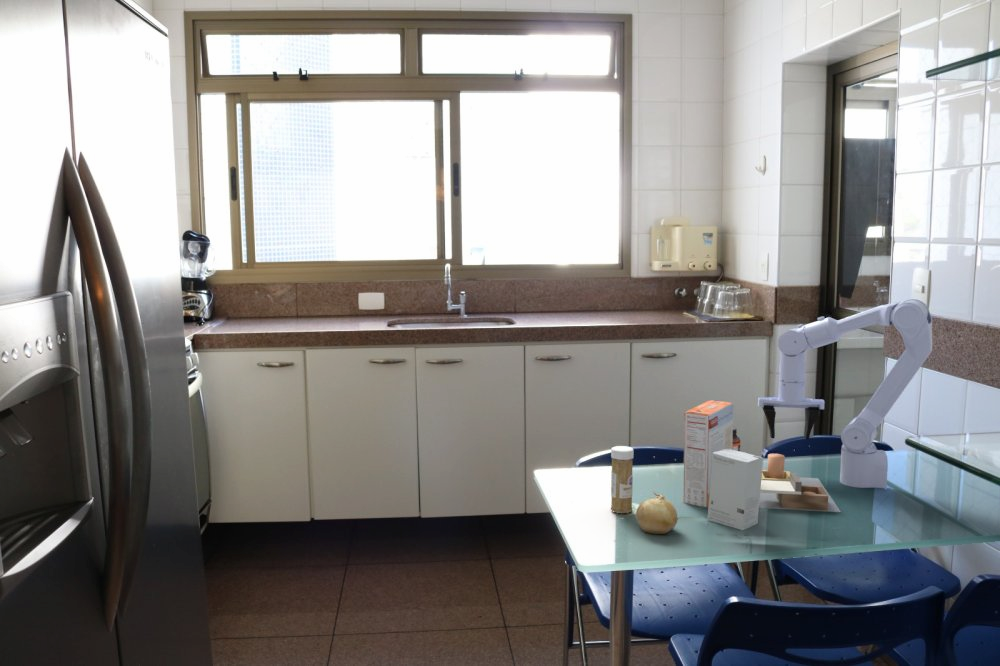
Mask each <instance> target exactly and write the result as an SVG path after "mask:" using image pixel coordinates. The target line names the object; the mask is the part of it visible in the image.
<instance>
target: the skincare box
mask: <svg viewBox="0 0 1000 666" xmlns="http://www.w3.org/2000/svg"><path fill="white" fill-rule="evenodd" d="M763 463H764V457H761V456H759V455H758V456H757V455H755V454H751V453H747V452H744V451H741V450H740V451H736V450H731V449H724V450H721V451H717V452H714V453H713V457H712V469H711V481H710V494H709V506H708V508H707V509H708V510H707V520H706V521H707V525H708V526H709V521H711V522H713V523H717V524H720V525H724V526H728V527H731V528H734V529H737V530H740V531H744V530H746V529H749V528H751V527H754V526H755V525H757V524H759V523H758V521H759V513H760V512H759V511H760V508H759V501H760V490H761V478H762V470H763V465H764V464H763Z"/></svg>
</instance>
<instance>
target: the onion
mask: <svg viewBox="0 0 1000 666" xmlns="http://www.w3.org/2000/svg"><path fill="white" fill-rule="evenodd" d="M653 494H654V495H655V497H653V498H652V497H651V498H648V499H645V500H644V501H642V502H641V503H640V504H639V505H638V507H637V508H636V512H635V517H636V521H637V523H638V525H639V527H640V528H641V530H642V531H643V532H644V533H647V532H648V533H647V534H652V535H665V534H668V533H669V532H670V531H672V530H673V529H674V528H675V527H676V525H677V524H678V512H677V510H676V508H675V506H674V505H673V504H672V503H671V501H669V500H668V499H667V498H665V496H664V495H663V494H661V493H659V494H657V493H656V492H655V491H653Z"/></svg>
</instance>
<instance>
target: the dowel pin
mask: <svg viewBox="0 0 1000 666" xmlns="http://www.w3.org/2000/svg"><path fill="white" fill-rule="evenodd" d="M785 460H786V459H785V455H784V454H780V453H769V454H767V467H766V469H767V478H776V479H784V471H785V463H786V462H785Z"/></svg>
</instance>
